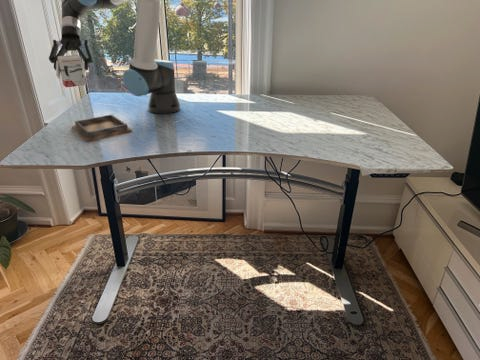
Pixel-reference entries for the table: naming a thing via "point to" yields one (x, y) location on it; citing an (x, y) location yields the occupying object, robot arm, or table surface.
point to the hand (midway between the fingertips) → (71, 76)
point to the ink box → (71, 70)
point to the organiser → (100, 127)
